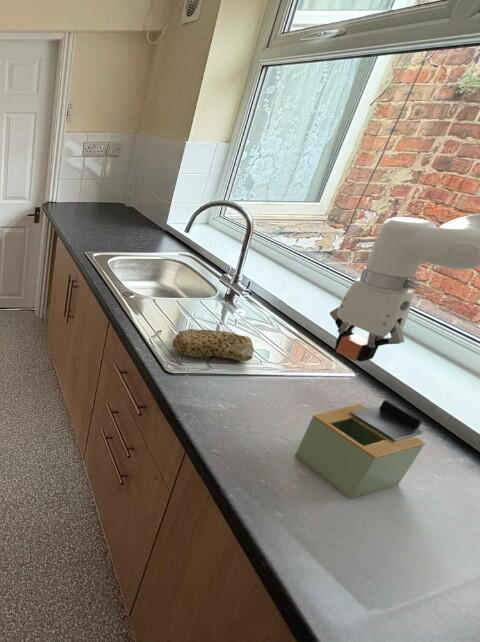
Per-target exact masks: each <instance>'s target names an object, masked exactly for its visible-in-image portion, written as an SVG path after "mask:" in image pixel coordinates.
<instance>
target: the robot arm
mask: <svg viewBox="0 0 480 642" xmlns="http://www.w3.org/2000/svg"><path fill="white" fill-rule="evenodd" d="M422 262H423V263H427V264H431V265H434V266H437V267H441V268H444V269H449V270H457V271H464V270H465V271H466V270H473V269H476V268H479V267H480V212H478V213H474V214H469V215H466V216H462V217H461V216H460V217H457V218H455V219H452V220H450V221H448V222H446V223H443V224H442V225H440V226H439V227H438V226H436V223H434V222H432V221H430V220H427V219H422V218H416V217H405V216H399V217H398V216H397V217H392V218H388V219H386V220H385V221H384V222H383V224H382V225H381V227H380V229H379V232H378V234H377V237H376V239H375V242H374V244H373V246H372V248H371V251H370V254H369V256H368V259H367V260H366V263H365V266H364V269H363V270H362V272H361V275H360V277H357V278H356V279H355V280H354V281H353V283H352V284H351V285H350V287H349V288H348V290H347V291H346V293H345V295H344V296H343V298H342V300H341V302H340V304H339V306H338V307H336V308H335V309H333V310H331V311H330V312H329V315H330V316H331V318H332V319H333V321H334V323H335V325H336V327H337V333H338V336H337V339H336V341H335V344H336V345H335V347H334V350H337V348H338V345H339V343H340V341H341V338H342V337H343V336H348V335H353V334H355V333H354V330H355V328H358V329H361V330H363V331H365V332H368V338H367V339H368V343H367V344H366V345H364V346H363V347H362V349H361V351H360V354H359V356H358V358H357V361H358V362H360V363H362V362H366V361H369V360H373V358H374V357H375V355H376V353H377V351H378V348H379V347H381V346H385V345H398V344H403V343H405V338H404V334H403V331H402V330H403V329H404V326H405V325H406V322H407V319H408V316H409V313H410V310H411V306H412V303H413V296H414V291H413V290H415V291H416V290H418V289H419V288H420V285H421V284H420V283H419V282H416V281H415V280H416V274H417V273H418V271H419V268H420V266H421V264H422ZM411 289H412V290H411ZM389 334H390V337H387V336H388V335H389Z"/></svg>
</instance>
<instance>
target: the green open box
mask: <svg viewBox="0 0 480 642" xmlns="http://www.w3.org/2000/svg"><path fill="white" fill-rule="evenodd" d="M364 408H367V407H365V406H364V405H363V404H360V403H358V404H354V405H353V404H352V405H349V406H346V407H341V408H337V409H333V410H328V411H325V412H320V413H317V414H313V415H312V417H311V419H310V422H309V424H308V426H307V428H306V430H305V432H304V434H303V437H302V439H301V441H300V443H299V445H298V447H297V449H296V451H295V456H296V457H297V458H299V459H300V460H301V461H302V462H304V463H305V464H306V465H308V466H309V467H310V468H312V470H314V471H315V472H317V473H318V474H319V475H320V476H321V477H322V478H324V479H326V481H328V482H329V483H330V484H332V486H334V487H336V489H337V490H339V491H340V492H342V493H343V494H345V496H347V497H348V498H349V499H351V500H352V499H355V498H358V497H361V496H365V495H368V494H372V493H376V492H378V491H381V490H384V489H388V488H390V487H394V486H398V485H399V484H400V483H401V481H402V480H403V479H404V477H405V475H406V474H407V472H408V471H409V470H410V468H411V466H412V464H414V461H415V460H416V459H417V457H418V455H419V454H420V452H421V451H422V449H423V448H424V446H425V445H426V442H425V441H423V440H421V439H419V438H418V437H416V436H412V437H409V438H405V439H401V440H398V441H392V440H390V439H389V438H387V437H386V436H384V435H382V434H381V433H379V432H378V431H376V430H374V429H373V428H371V427H370V426H368V425H366V424H365V423H363V422H362V421H360V420H358V419H357V418H355V417H354V416H352V415H350V414H349V413H350V412H352V411H356V410H360V409H364Z"/></svg>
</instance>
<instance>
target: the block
mask: <svg viewBox="0 0 480 642" xmlns="http://www.w3.org/2000/svg"><path fill="white" fill-rule="evenodd" d="M367 343H368V338H366V337H363V336H361V335H359V334H356V333H354V334H353V335H348V336H343V337H342V338H341V341H340V343H339V345H338V348H337V350H336V349H335V350H336V351H335V353H337V354H339V355H342V357H345V358H347V359H349V360H351V361H353V362H357V361H358V360H357V358H358V356H359V354H360V351H361V349H362V347H363V346H364V345H366V344H367Z"/></svg>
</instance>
